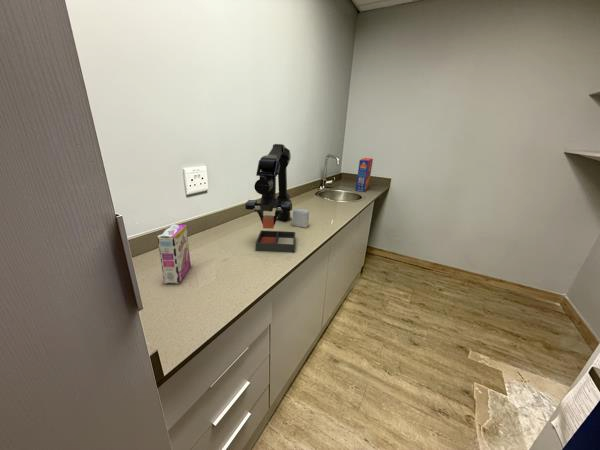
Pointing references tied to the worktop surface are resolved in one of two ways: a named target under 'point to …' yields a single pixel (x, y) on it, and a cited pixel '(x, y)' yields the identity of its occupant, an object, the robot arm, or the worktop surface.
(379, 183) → the worktop surface
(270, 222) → the terracotta block
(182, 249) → the candy bar box
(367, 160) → the pasta box
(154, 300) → the worktop surface
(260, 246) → the tray
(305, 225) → the medicine box
